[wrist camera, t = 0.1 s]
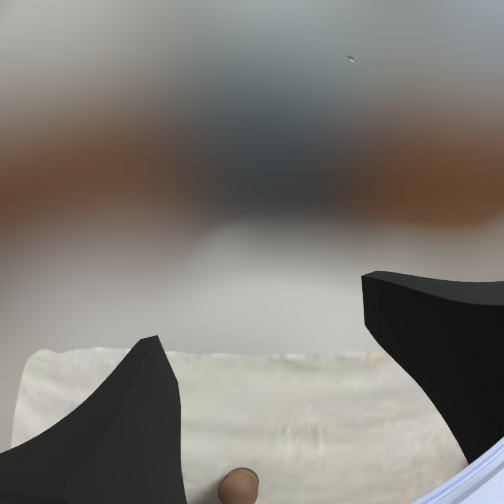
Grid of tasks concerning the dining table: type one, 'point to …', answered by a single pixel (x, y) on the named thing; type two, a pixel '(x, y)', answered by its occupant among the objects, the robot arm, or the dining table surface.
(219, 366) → the dining table surface
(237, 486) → the peg
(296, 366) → the dining table surface
